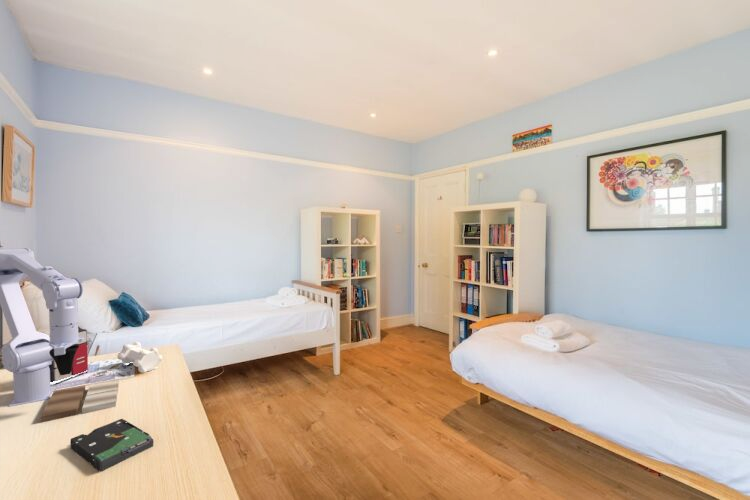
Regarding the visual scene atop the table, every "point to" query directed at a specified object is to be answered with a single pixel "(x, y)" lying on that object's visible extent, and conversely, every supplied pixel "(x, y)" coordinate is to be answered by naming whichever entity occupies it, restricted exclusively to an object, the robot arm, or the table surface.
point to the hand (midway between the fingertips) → (65, 373)
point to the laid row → (63, 404)
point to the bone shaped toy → (140, 357)
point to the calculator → (79, 360)
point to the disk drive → (111, 444)
